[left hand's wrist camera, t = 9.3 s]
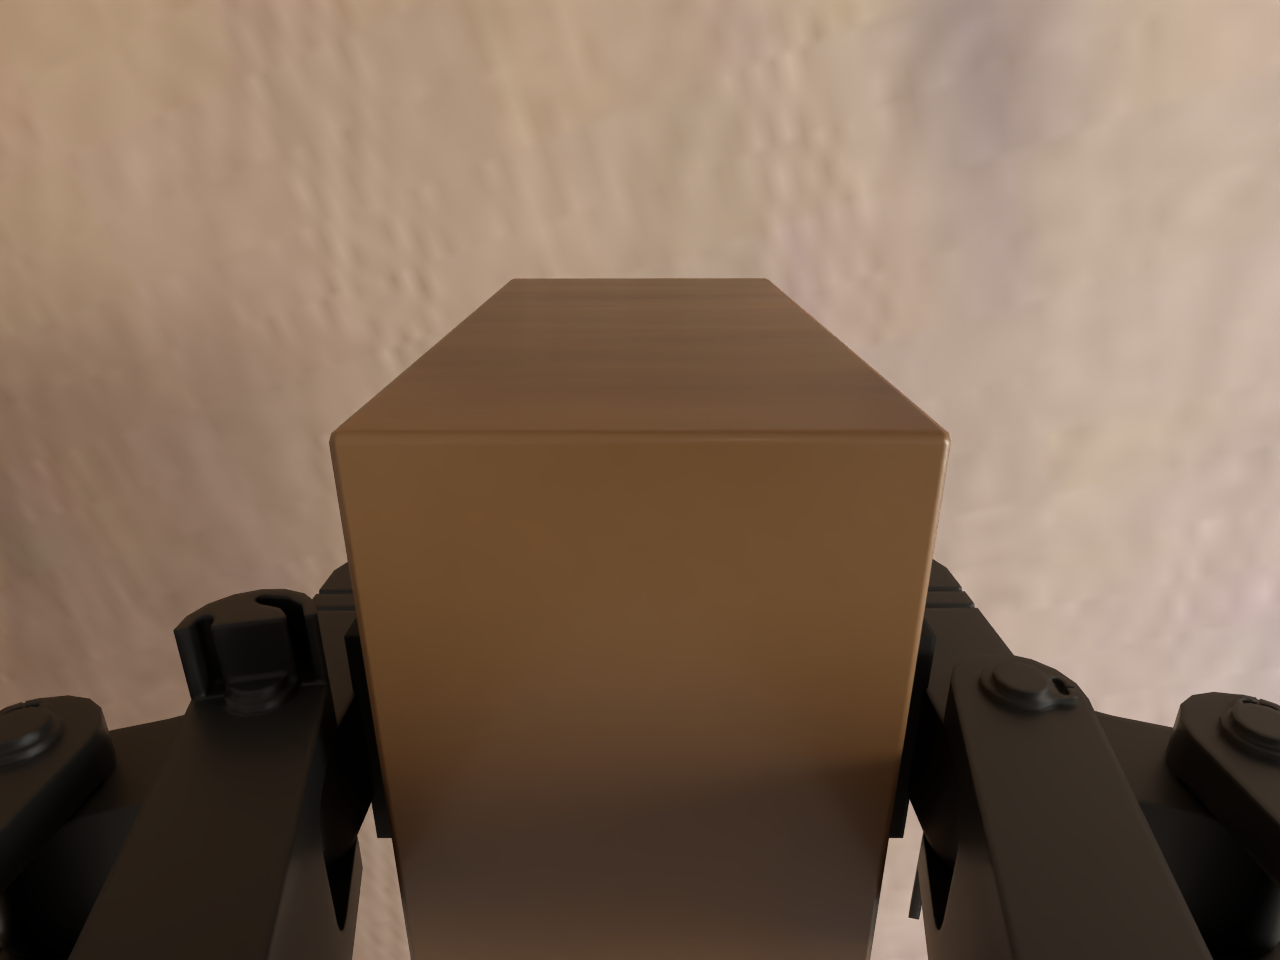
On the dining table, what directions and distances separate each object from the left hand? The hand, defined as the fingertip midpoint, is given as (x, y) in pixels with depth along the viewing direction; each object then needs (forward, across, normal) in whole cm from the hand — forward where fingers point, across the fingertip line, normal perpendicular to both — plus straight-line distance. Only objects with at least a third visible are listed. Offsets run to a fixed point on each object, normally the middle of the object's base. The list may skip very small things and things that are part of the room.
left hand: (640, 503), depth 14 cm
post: (+1, 0, -26) cm, 27 cm away
